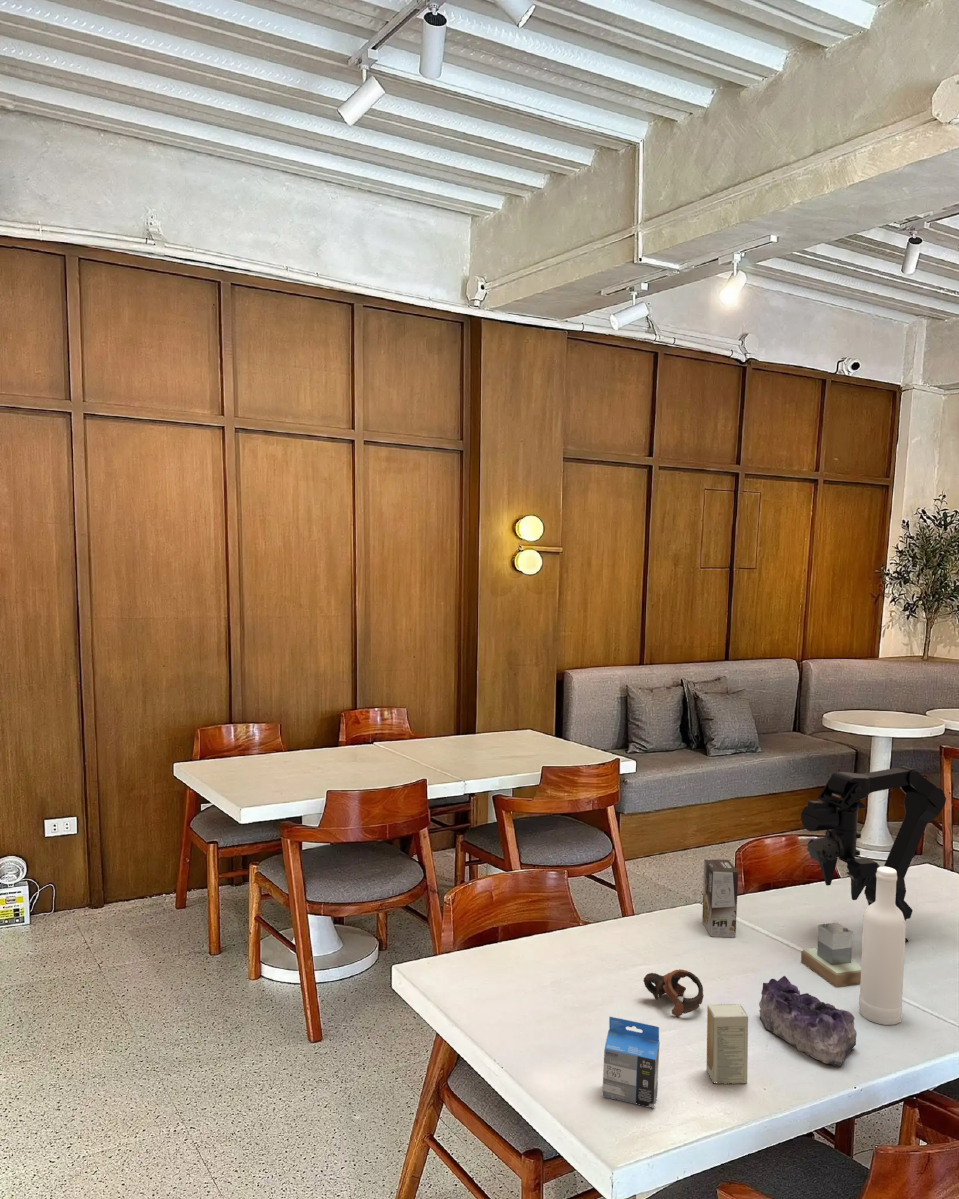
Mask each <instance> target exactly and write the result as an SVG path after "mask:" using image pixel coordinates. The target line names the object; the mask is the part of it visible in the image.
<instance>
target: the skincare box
mask: <svg viewBox="0 0 959 1199" xmlns="http://www.w3.org/2000/svg"><path fill="white" fill-rule="evenodd" d="M706 1008H707V1015H706V1016H707V1018H706V1019H707V1020H706V1023H707V1024H706V1028H707V1029H706V1072H707V1071H708V1072H707V1074H708V1073H709V1074H708V1076H709V1075H710V1077H709V1078H711V1079H712V1081H713V1082H715V1083H716V1082H717V1083H724V1085H726V1084H727V1083H728V1084H729V1083H732V1084H748V1053H749V1052H748V1051H749V1049H748V1047H749V1043H748V1041H749V1015H748V1014H747V1012H746V1011H745V1009H744V1007H743V1005H742V1004H740V1003H739V1004H737V1003H732V1004H729V1003H728V1004H727V1003H726V1004H725V1003H724V1004H722V1003H721V1004H707V1006H706ZM711 1079H710V1080H711ZM712 1081H711V1082H712Z"/></svg>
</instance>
